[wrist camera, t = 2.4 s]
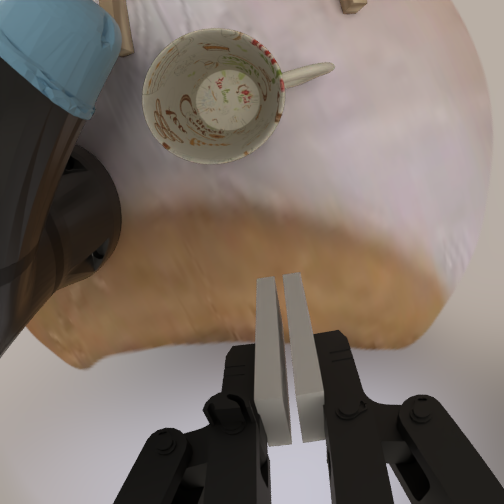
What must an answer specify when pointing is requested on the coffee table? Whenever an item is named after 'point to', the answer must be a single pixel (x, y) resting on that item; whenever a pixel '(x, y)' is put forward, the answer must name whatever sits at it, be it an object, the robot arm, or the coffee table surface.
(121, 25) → the bay
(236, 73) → the mug
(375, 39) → the coffee table surface
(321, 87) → the coffee table surface
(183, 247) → the coffee table surface
